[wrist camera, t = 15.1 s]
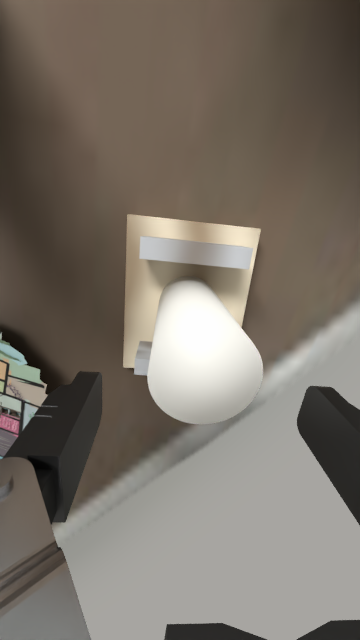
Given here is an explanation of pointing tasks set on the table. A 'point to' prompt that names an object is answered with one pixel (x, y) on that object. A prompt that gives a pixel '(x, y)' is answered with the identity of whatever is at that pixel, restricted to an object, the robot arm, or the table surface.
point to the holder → (180, 272)
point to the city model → (17, 394)
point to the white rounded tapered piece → (200, 356)
